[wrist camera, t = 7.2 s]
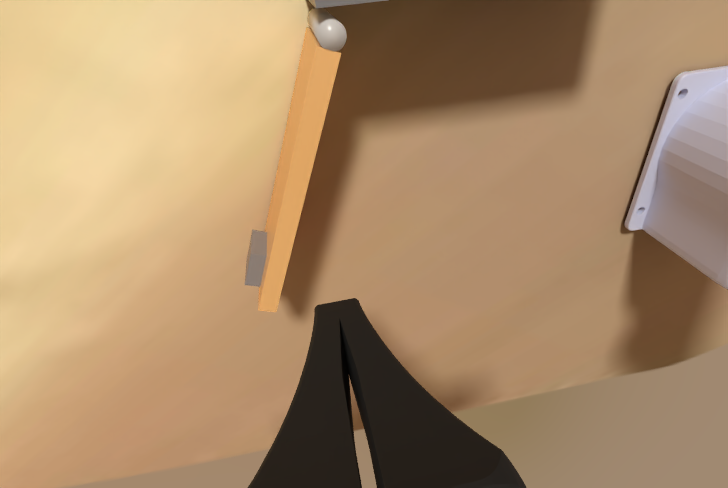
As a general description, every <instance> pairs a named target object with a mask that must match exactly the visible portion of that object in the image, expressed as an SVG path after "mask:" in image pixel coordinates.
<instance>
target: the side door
mask: <svg viewBox="0 0 728 488" xmlns="http://www.w3.org/2000/svg"><path fill="white" fill-rule="evenodd" d="M307 20H308V24H309V26H310V28H308V27H307V28H306V33H305V38H304V43H303V47H302V52H301V57H300V62H299V67H298V72H297V77H296V81H295V86H294V91H293V96H292V101H291V106H290V111H289V116H288V120H287V125H286V130H285V135H284V140H283V145H282V150H281V154H280V159H279V164H278V169H277V174H276V179H275V184H274V189H273V193H272V198H271V203H270V208H269V213H268V218H267V223H266V227H265V232H263V231H257V230H252V235H251V240H250V245H249V251H248V256H247V264H246V275H245V285H250V286H259V304H258V310H260V311H270V312H276V311H277V307H278V303H279V299H280V295H281V291H282V287H283V283H284V279H285V275H286V271H287V267H288V263H289V259H290V255H291V251H292V247H293V243H294V239H295V235H296V231H297V227H298V224H299V220H300V216H301V212H302V208H303V204H304V200H305V196H306V192H307V188H308V184H309V180H310V176H311V172H312V168H313V164H314V160H315V156H316V152H317V148H318V144H319V140H320V136H321V132H322V128H323V124H324V120H325V116H326V112H327V108H328V104H329V100H330V96H331V92H332V88H333V84H334V81H335V77H336V73H337V69H338V65H339V61H340V57H341V52H340V51H339V50H340V49H341V48H343V46H344V45H345V43H346V39H347V33H346V30H345V28H344V26H343V25H342V24H341V23H340V22H339V21H338V20H337V19H336V18H335V17H333V16H332V15H331V14H330V13H329V12H328V11H327V10H325V9H324V8H315V7H314V8H312V9H311V10H310V11H309V13H308V17H307Z"/></svg>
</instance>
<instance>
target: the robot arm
mask: <svg viewBox="0 0 728 488" xmlns="http://www.w3.org/2000/svg"><path fill="white" fill-rule="evenodd" d="M680 91H681V93H680V94H679V92H680ZM678 94H679V95H678ZM624 226H625V227H626V228H627V229H628V230H630V231H634V230H640V229H642V230H644V231H645V232H647V233H648V234H649V235H651V236H652V237H654V238H655V239H656V240H658V241H659V242H660V243H662V244H663V245H665V246H666V247H667V248H669V249H670V250H672V251H673V252H674V253H676V254H677V255H678V256H680V257H681V258H683V259H684V260H685V261H687V262H688V263H690V264H691V265H692V266H694V267H695V268H697V269H698V270H699V271H701V272H702V273H703V274H705V275H706V276H708V277H709V278H710V279H712V280H713V281H715V282H716V283H718V284H719V285H721V286H722V287H724V288H726V289H728V66H722V67H715V68H708V69H701V70H694V71H687V72H683V73H680V74H679V75H678V76H677V77H676V78H675V79H674V81H673V83H672V85H671V88H670V91H669V94H668V97H667V100H666V103H665V106H664V109H663V112H662V115H661V118H660V121H659V124H658V126H657V129H656V132H655V135H654V138H653V141H652V144H651V147H650V150H649V153H648V156H647V159H646V162H645V165H644V168H643V171H642V174H641V177H640V180H639V182H638V185H637V188H636V191H635V194H634V197H633V200H632V203H631V206H630V209H629V212H628V215H627V218H626V221H625V225H624ZM349 377H350V380H351V384H352V387H353V391H354V394H355V398H356V401H357V405H358V408H359V412H360V415H361V419H362V422H363V426H364V429H365V433H366V436H367V440H368V445H369V449H370V453H371V458H372V464H373V469H374V474H375V479H376V485H377V488H526V486H525V484H524V482H523V480H522V479H521V477H520V475H519V474H518V472H517V471H516V469H515V468H514V466H513V465H512V463H511V462H510V460H509V459H508V458H507V456H506V455H505V454H504V452H503V451H502V450H501V449H499V448H498V447H496V446H495V445H493V444H492V443H490V442H489V441H488V440H486V439H484V438H483V437H482V436H481V435H479V434H478V433H476V432H475V431H473V430H472V429H471V428H470V427H468V426H467V425H466V424H465V423H463V422H462V421H461V420H459V419H458V418H457V417H456V416H454V415H453V414H452V413H451V412H450V411H449V410H447V409H446V408H445V407H444V406H443V405H442V404H440V403H439V402H438V401H437V400H436V399H435V398H433V397H432V396H431V395H430V394H429V393H428V392H427V391H426V390H425V389H424V388H423V387H422V386H421V385H420V384H419V383H418V382H417V381H416V380H415V379H414V378H413V377H412V376H411V375H410V374H409V373H408V371H407V370H406V369H405V368H404V367H403V366H402V365H401V364H400V362H399V361H398V360H397V359H396V358H395V356H394V355H393V354H392V353H391V351H390V350H389V349H388V348H387V346H386V345H385V344H384V342H383V341H382V340H381V338H380V337H379V335H378V334H377V333H376V331H375V330H374V328H373V327H372V325H371V323H370V322H369V320H368V319H367V317H366V315H365V313H364V312H363V310H362V308H361V306H360V303H359V301H358V300H357V299H355V298H353V299H348V300H342V301H337V302H332V303H327V304H321V305H317V306H316V307H315V316H314V326H313V332H312V337H311V342H310V346H309V350H308V354H307V358H306V362H305V365H304V369H303V372H302V375H301V378H300V381H299V384H298V387H297V390H296V393H295V395H294V398H293V401H292V403H291V405H290V408H289V410H288V413H287V415H286V417H285V419H284V422H283V424H282V426H281V428H280V430H279V433H278V435H277V437H276V439H275V441H274V443H273V445H272V446H271V448H270V450H269V452H268V454H267V456H266V457H265V459H264V461H263V463H262V465H261V467H260V469H259V470H258V472H257V474H256V475H255V477H254V479H253V481H252V482H251V484H250V485H249V487H248V488H362V486H361V480H360V474H359V468H358V463H357V456H356V450H355V442H354V431H353V420H352V408H351V396H350V385H349Z"/></svg>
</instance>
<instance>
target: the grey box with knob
mask: <svg viewBox="0 0 728 488" xmlns="http://www.w3.org/2000/svg"><path fill="white" fill-rule="evenodd" d="M308 1H309V2H310V3H311V4H312V5H313V6H314V7H315V8H325V7H333V6H342V5H351V4H360V3H369V2H378V1H387V0H308Z"/></svg>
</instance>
